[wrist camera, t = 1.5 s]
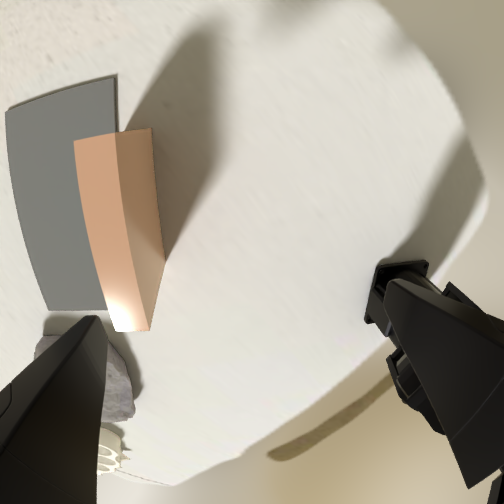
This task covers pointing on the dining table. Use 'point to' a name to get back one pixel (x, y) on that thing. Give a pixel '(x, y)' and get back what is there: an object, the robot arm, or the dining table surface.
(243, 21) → the dining table surface
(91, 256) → the mat
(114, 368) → the stone block
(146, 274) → the tan flat block
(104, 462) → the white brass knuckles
